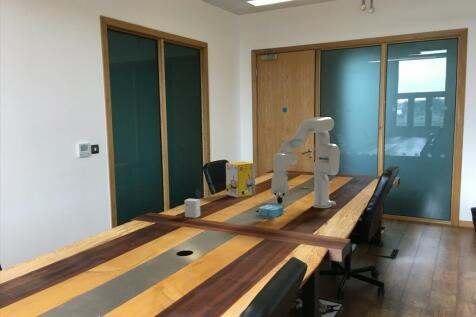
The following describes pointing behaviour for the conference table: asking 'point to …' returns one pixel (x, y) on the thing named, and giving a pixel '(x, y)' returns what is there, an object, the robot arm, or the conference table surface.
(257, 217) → the felt pad
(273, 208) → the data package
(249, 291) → the conference table surface
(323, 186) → the robot arm
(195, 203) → the small box
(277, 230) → the conference table surface
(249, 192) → the packaging box
